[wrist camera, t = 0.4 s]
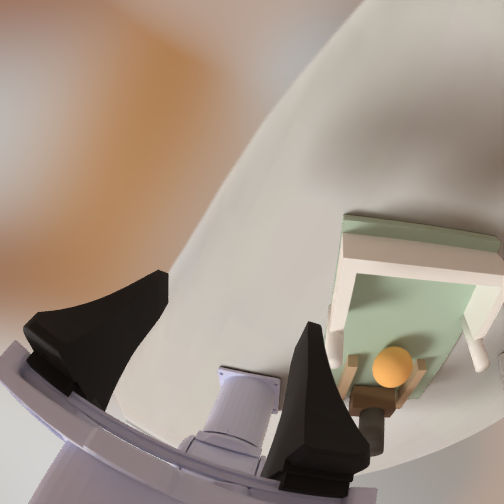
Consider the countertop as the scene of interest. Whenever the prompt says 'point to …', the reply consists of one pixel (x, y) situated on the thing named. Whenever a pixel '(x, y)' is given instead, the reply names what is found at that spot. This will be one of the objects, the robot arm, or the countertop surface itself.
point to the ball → (392, 367)
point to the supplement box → (501, 367)
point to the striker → (372, 413)
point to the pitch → (409, 299)
